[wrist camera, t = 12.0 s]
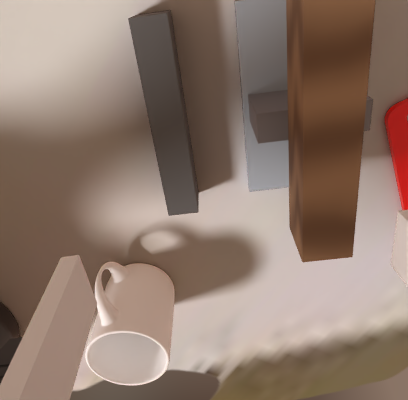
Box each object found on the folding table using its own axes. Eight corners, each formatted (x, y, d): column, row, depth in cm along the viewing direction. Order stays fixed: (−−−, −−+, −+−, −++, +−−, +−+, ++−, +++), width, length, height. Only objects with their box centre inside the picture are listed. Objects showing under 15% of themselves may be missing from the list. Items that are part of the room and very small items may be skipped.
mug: (142, 229, 43) (126, 296, 34) (186, 298, 49) (183, 372, 39) (79, 254, 45) (47, 324, 35) (129, 318, 50) (113, 393, 41)
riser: (171, 196, 41) (168, 215, 37) (136, 15, 32) (128, 18, 28) (198, 193, 41) (198, 212, 37) (170, 10, 32) (166, 13, 28)
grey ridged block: (248, 187, 40) (257, 222, 34) (234, 1, 31) (242, 4, 25) (341, 176, 40) (367, 210, 34) (354, -17, 31) (392, -17, 25)
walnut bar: (333, 222, 34) (352, 257, 30) (289, 227, 35) (302, 262, 30) (346, -29, 24) (378, -33, 20) (285, -20, 25) (304, -22, 20)
